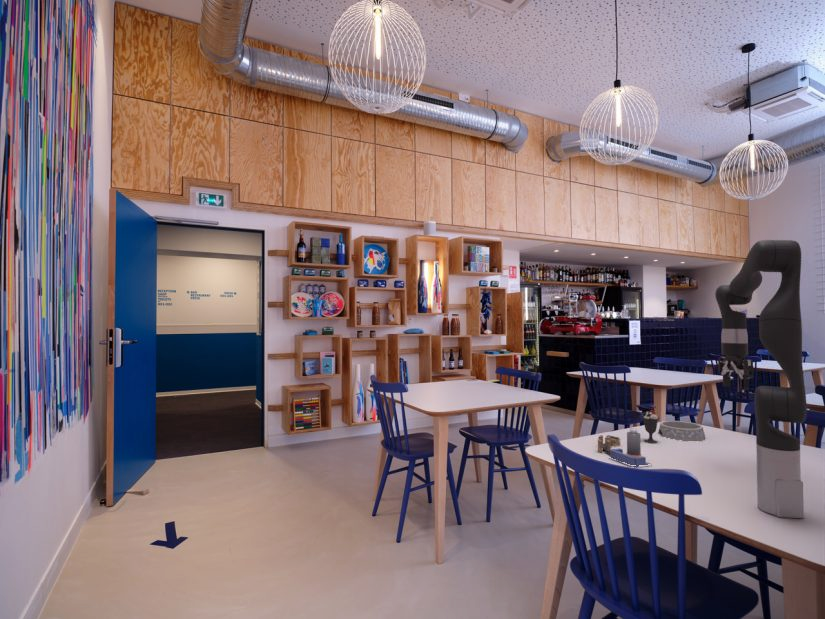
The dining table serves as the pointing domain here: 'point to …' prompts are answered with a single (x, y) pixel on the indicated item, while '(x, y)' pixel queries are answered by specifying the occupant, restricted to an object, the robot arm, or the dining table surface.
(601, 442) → the clip
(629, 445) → the grey piece
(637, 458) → the holder
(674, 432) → the dog bowl
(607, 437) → the clip
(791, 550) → the dining table surface
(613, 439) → the tan wooden end block
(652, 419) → the sundae
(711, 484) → the dining table surface
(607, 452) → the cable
